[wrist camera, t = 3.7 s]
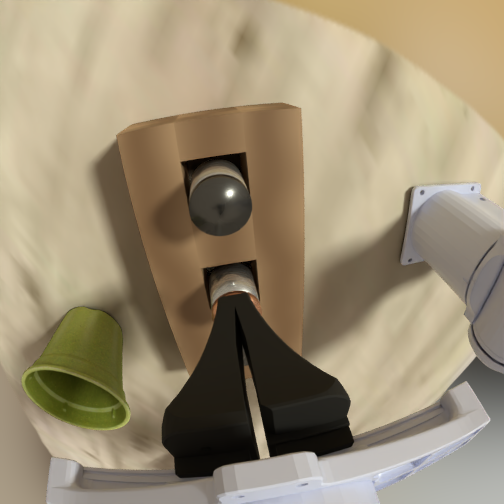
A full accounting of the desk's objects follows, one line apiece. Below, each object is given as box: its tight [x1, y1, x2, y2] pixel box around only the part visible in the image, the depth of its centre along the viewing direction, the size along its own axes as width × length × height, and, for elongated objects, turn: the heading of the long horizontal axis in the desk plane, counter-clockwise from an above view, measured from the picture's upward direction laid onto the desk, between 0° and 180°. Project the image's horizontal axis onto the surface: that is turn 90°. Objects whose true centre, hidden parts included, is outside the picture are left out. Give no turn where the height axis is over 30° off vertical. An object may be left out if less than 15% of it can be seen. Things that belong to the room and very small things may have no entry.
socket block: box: [116, 103, 304, 379], centre depth 22 cm, size 10×22×4 cm, turn 5°
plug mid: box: [209, 263, 262, 323], centre depth 20 cm, size 3×3×4 cm
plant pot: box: [21, 307, 130, 430], centre depth 22 cm, size 9×9×9 cm
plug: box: [189, 159, 252, 236], centre depth 16 cm, size 3×3×4 cm
